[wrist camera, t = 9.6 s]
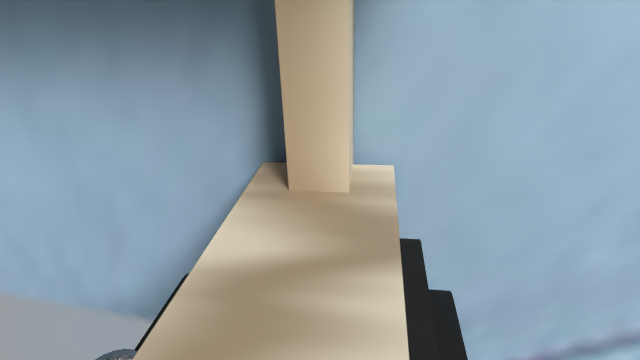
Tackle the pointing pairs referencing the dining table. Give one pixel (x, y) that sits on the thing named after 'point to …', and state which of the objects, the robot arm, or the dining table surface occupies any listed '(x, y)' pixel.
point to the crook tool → (300, 228)
